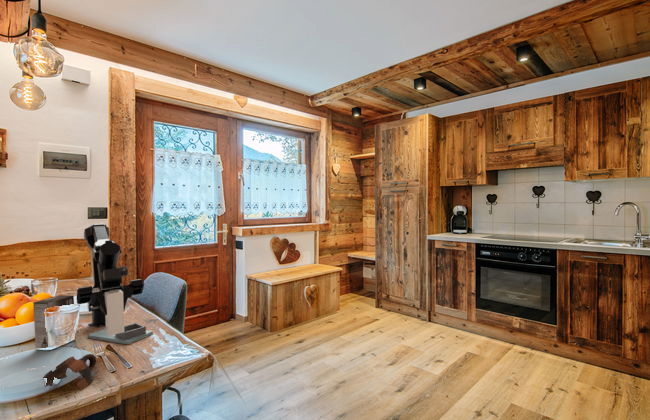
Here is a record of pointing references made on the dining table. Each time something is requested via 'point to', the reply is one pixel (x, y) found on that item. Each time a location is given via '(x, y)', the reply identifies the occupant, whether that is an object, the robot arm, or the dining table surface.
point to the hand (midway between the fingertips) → (115, 312)
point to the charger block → (114, 312)
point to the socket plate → (115, 339)
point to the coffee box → (39, 316)
